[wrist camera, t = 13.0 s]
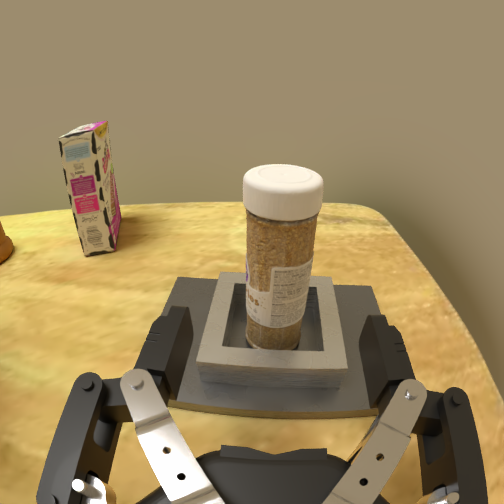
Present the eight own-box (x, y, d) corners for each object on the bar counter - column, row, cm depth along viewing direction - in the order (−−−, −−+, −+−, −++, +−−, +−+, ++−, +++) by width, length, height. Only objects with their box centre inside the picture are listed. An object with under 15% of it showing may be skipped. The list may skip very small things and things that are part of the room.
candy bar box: (118, 252, 36) (94, 128, 27) (84, 258, 35) (55, 138, 26) (123, 216, 45) (108, 118, 36) (95, 222, 44) (77, 125, 35)
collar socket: (135, 399, 19) (119, 372, 17) (179, 285, 31) (174, 256, 29) (399, 412, 18) (420, 387, 16) (368, 294, 29) (376, 266, 27)
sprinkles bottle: (239, 322, 25) (235, 164, 17) (290, 312, 26) (304, 160, 18) (253, 364, 21) (255, 190, 14) (309, 351, 22) (339, 184, 15)
